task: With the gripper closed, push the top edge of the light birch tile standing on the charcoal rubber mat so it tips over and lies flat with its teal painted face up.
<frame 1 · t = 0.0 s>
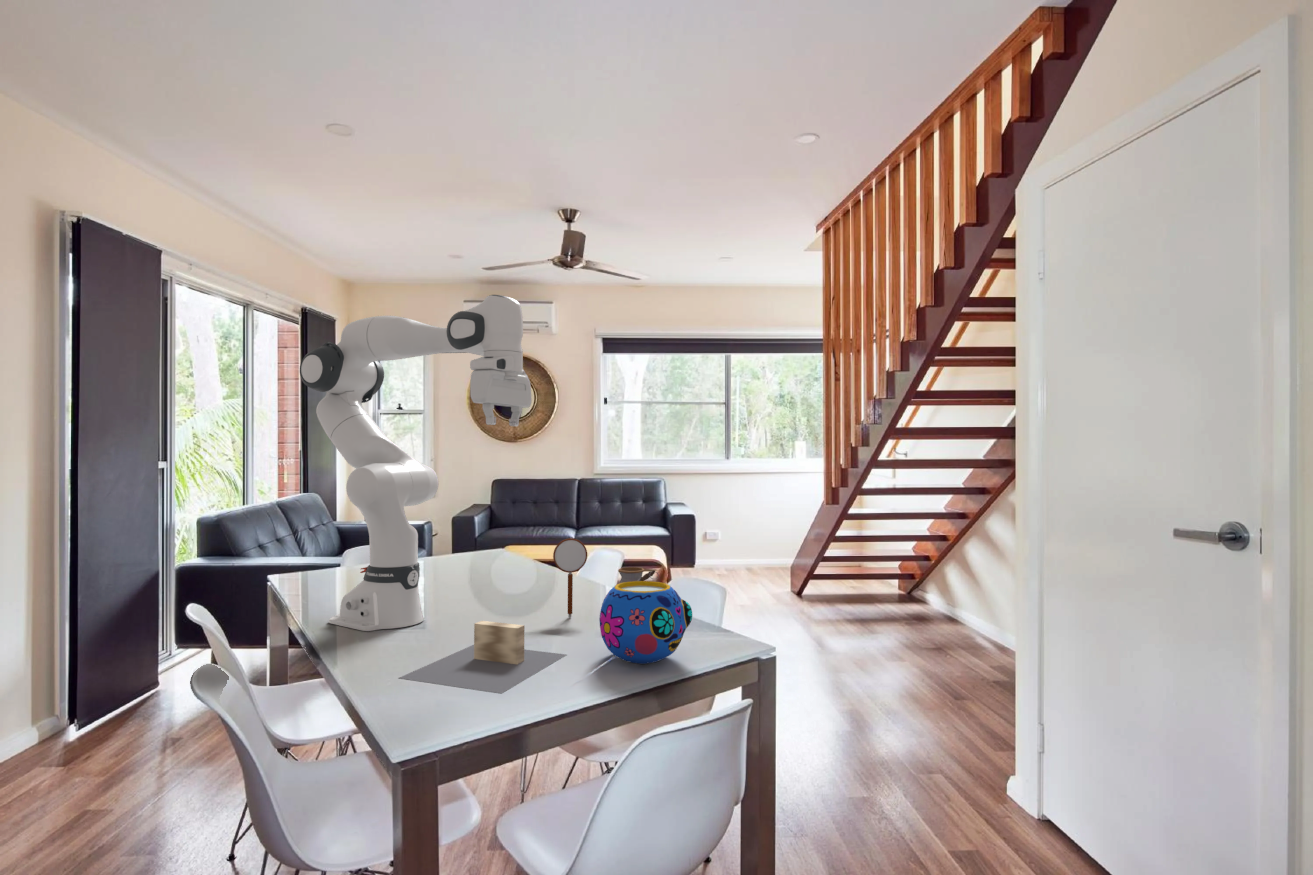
hand: (502, 425, 158), 48 cm above the table, tool pointing down, fingers open, 8 cm apart
birch tile: (499, 659, 137), point 1 cm above the table, touching rubber mat
rubber mat: (487, 668, 133), on the table
ceramic pot: (642, 661, 139), on the table
coffee pot: (638, 626, 166), on the table
magnifying glass: (569, 618, 174), on the table
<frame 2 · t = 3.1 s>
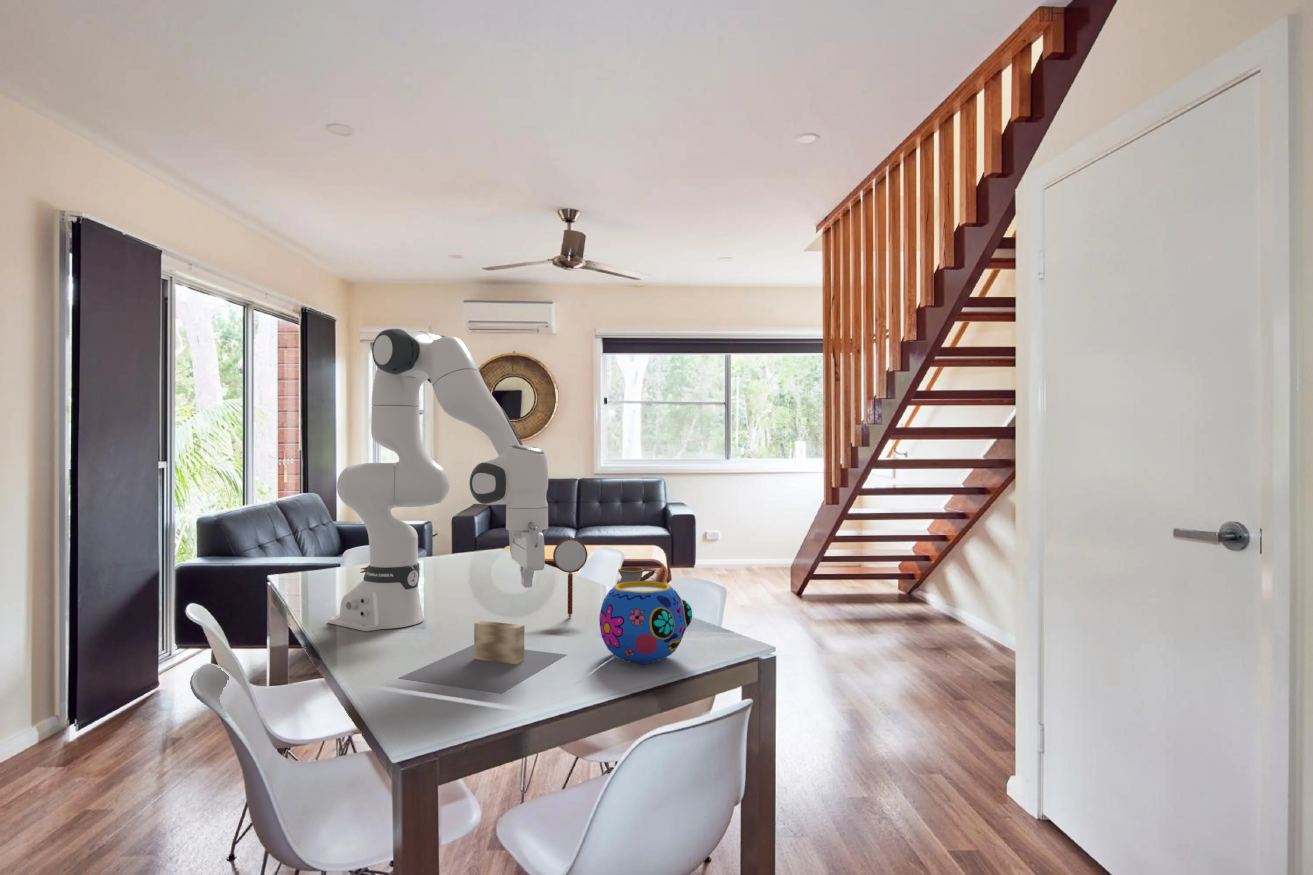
hand: (526, 586, 146), 13 cm above the table, tool pointing down, fingers closed
nothing on the table moved.
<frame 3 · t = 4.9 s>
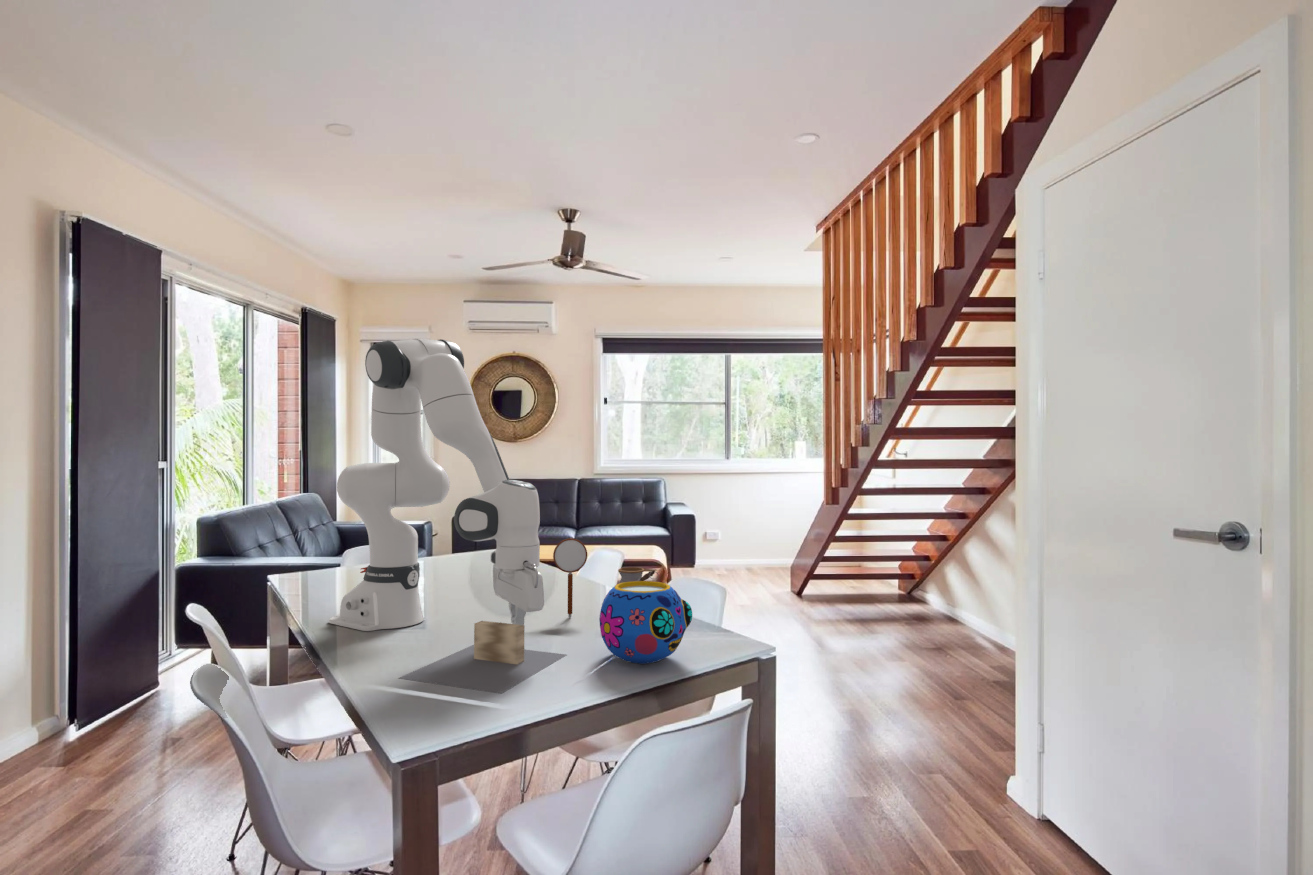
hand: (517, 624, 143), 6 cm above the table, tool pointing down, fingers closed
nothing on the table moved.
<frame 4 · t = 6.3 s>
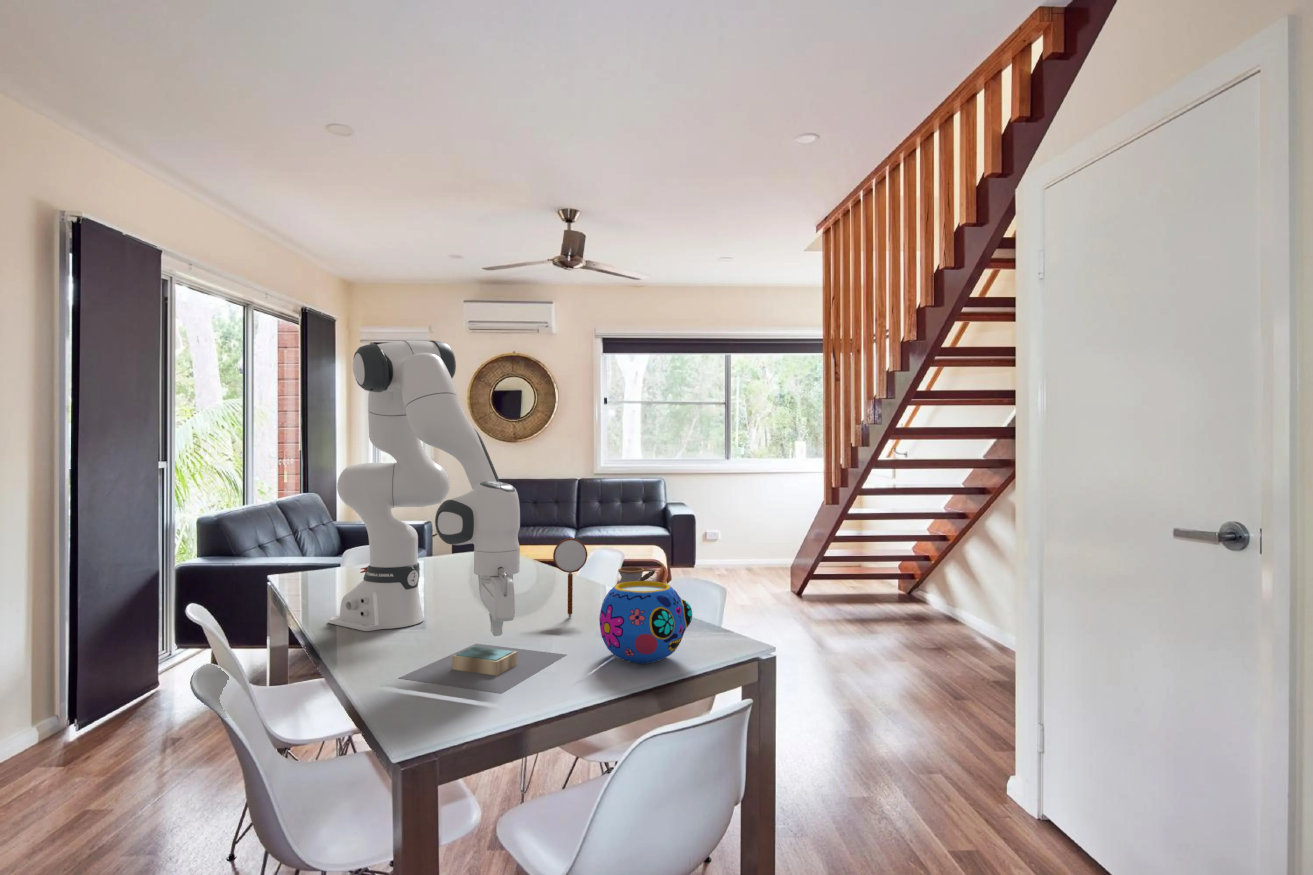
hand: (496, 634, 136), 6 cm above the table, tool pointing down, fingers closed
birch tile: (495, 655, 135), point 2 cm above the table, tilted 90°, touching rubber mat
everything else where it was.
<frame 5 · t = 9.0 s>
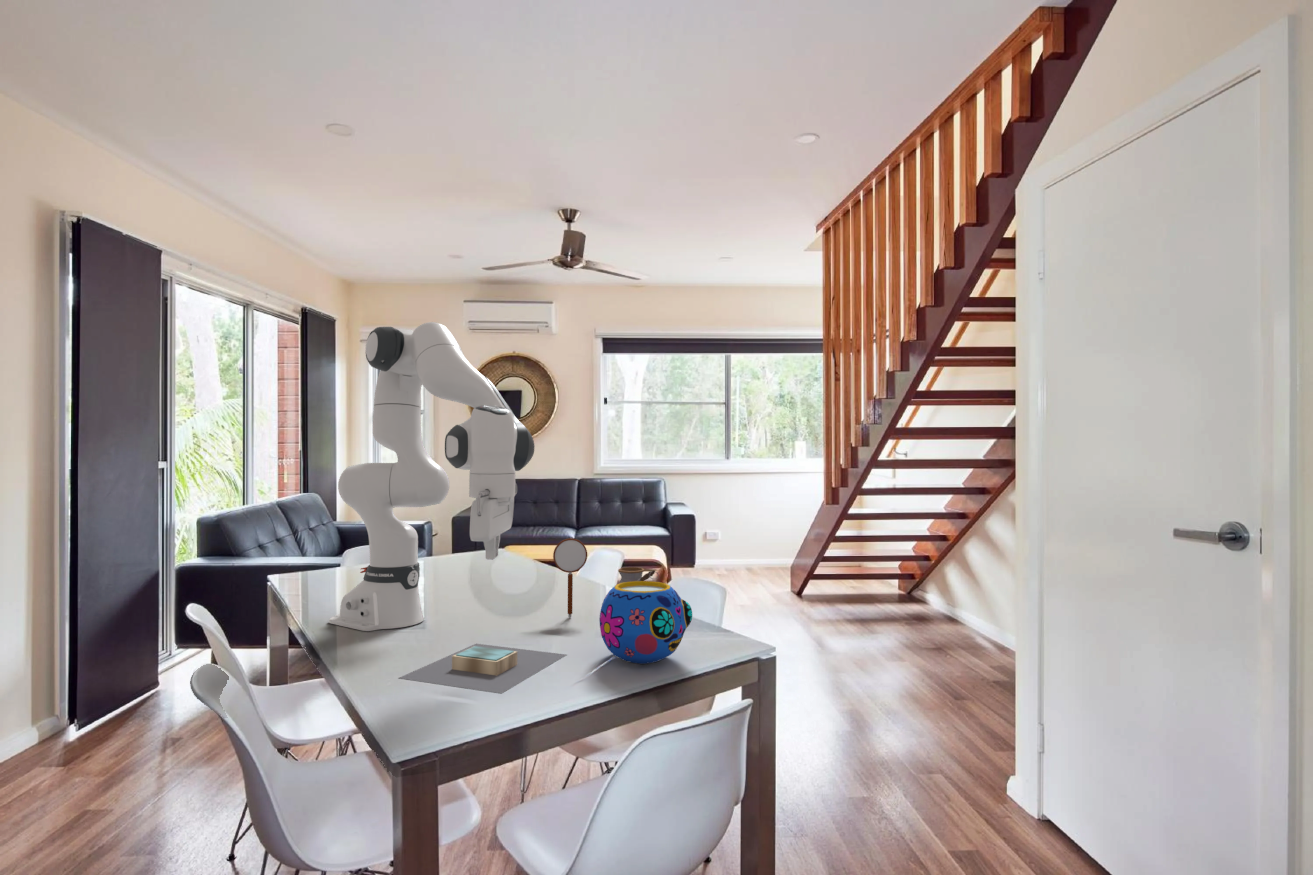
hand: (491, 558, 135), 21 cm above the table, tool pointing down, fingers closed
nothing on the table moved.
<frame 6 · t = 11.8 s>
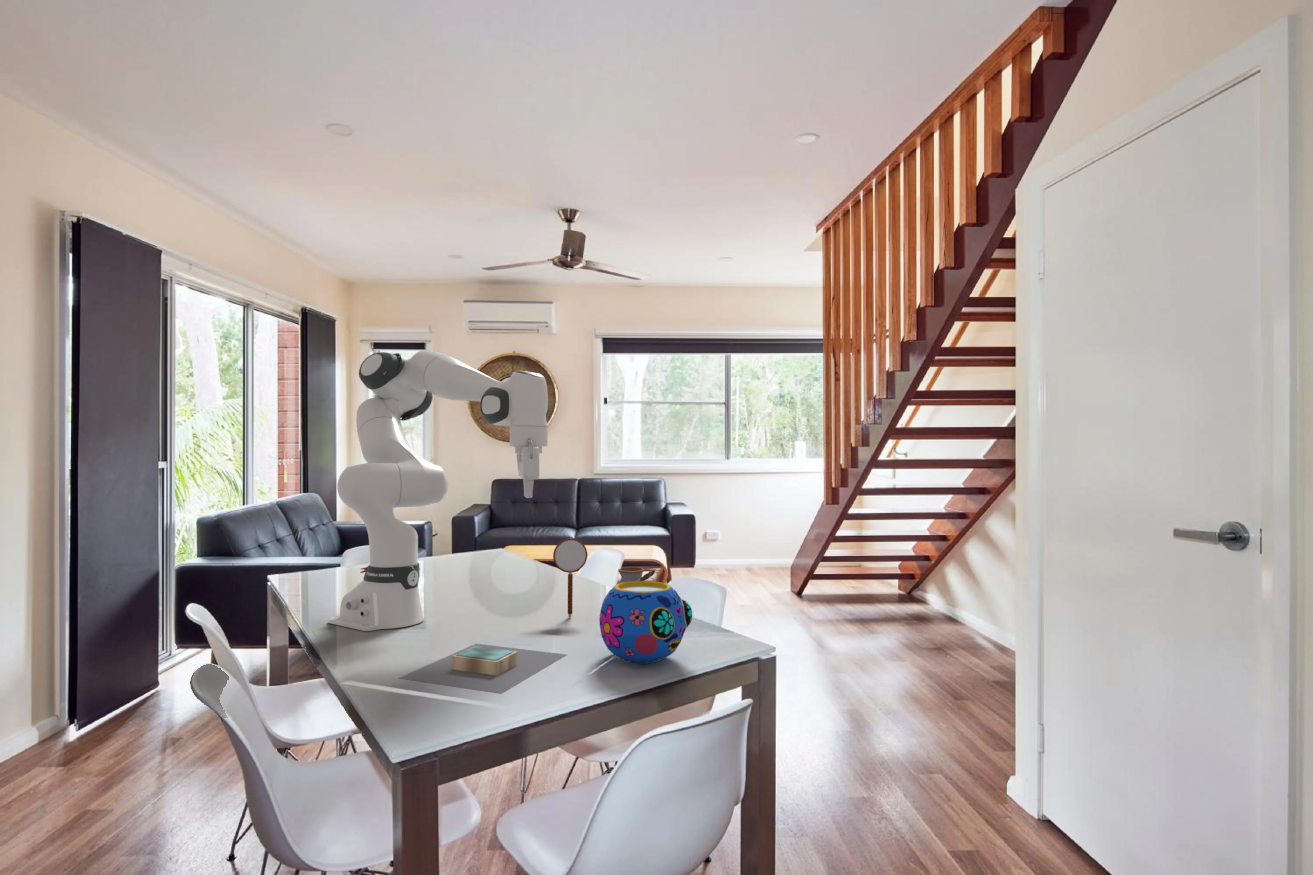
hand: (528, 497, 162), 31 cm above the table, tool pointing down, fingers closed
nothing on the table moved.
at the end: birch tile tilted 90°; birch tile inside the target area on the rubber mat (0.2 cm from its centre), point 1.8 cm above the rubber mat's base; birch tile touching rubber mat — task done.
